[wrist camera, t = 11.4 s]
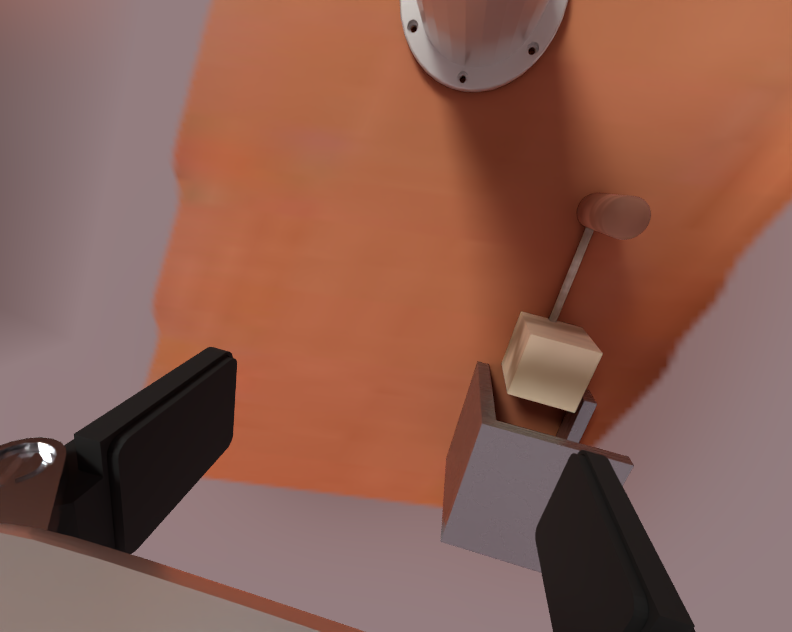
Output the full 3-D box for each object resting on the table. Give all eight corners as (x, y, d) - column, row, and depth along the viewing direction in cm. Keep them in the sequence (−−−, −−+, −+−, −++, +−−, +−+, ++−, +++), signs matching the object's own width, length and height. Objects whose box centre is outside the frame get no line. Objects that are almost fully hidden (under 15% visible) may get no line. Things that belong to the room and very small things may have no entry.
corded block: (567, 185, 33) (592, 186, 26) (637, 201, 32) (681, 206, 26) (501, 363, 39) (508, 399, 33) (558, 379, 39) (577, 419, 32)
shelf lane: (477, 361, 40) (482, 423, 29) (589, 390, 39) (634, 465, 28) (446, 458, 44) (440, 541, 34) (544, 487, 43) (569, 581, 33)
